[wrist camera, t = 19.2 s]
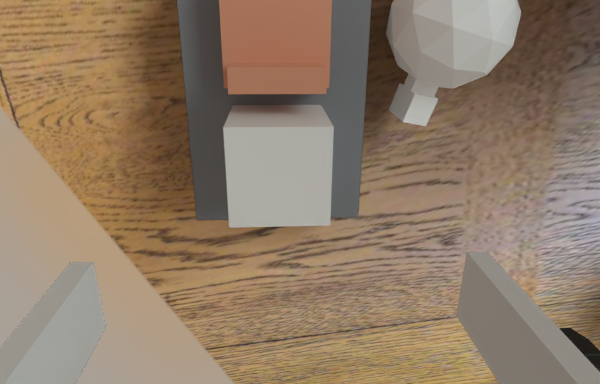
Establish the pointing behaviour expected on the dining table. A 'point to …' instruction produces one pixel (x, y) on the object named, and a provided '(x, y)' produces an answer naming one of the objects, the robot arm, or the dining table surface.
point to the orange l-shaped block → (276, 46)
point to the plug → (278, 165)
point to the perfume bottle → (445, 47)
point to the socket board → (272, 102)
